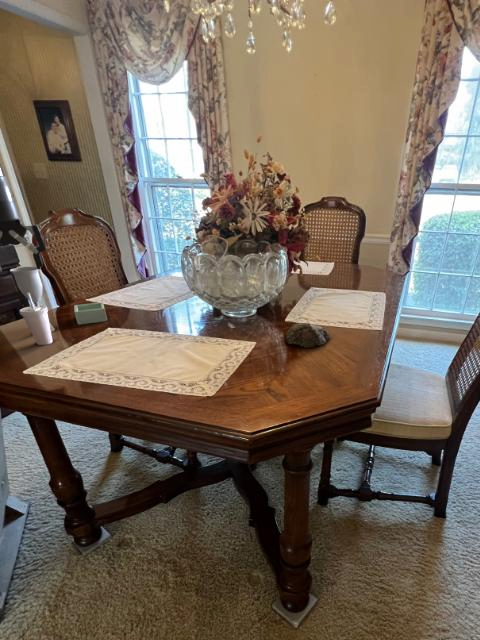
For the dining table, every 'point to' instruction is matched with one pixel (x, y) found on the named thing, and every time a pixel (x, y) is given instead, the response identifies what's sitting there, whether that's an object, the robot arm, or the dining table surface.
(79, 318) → the holder
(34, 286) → the chalice
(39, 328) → the smoothie
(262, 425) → the dining table surface
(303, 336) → the dark rough stone
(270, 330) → the dining table surface
